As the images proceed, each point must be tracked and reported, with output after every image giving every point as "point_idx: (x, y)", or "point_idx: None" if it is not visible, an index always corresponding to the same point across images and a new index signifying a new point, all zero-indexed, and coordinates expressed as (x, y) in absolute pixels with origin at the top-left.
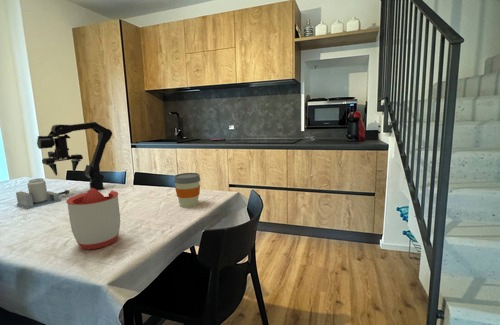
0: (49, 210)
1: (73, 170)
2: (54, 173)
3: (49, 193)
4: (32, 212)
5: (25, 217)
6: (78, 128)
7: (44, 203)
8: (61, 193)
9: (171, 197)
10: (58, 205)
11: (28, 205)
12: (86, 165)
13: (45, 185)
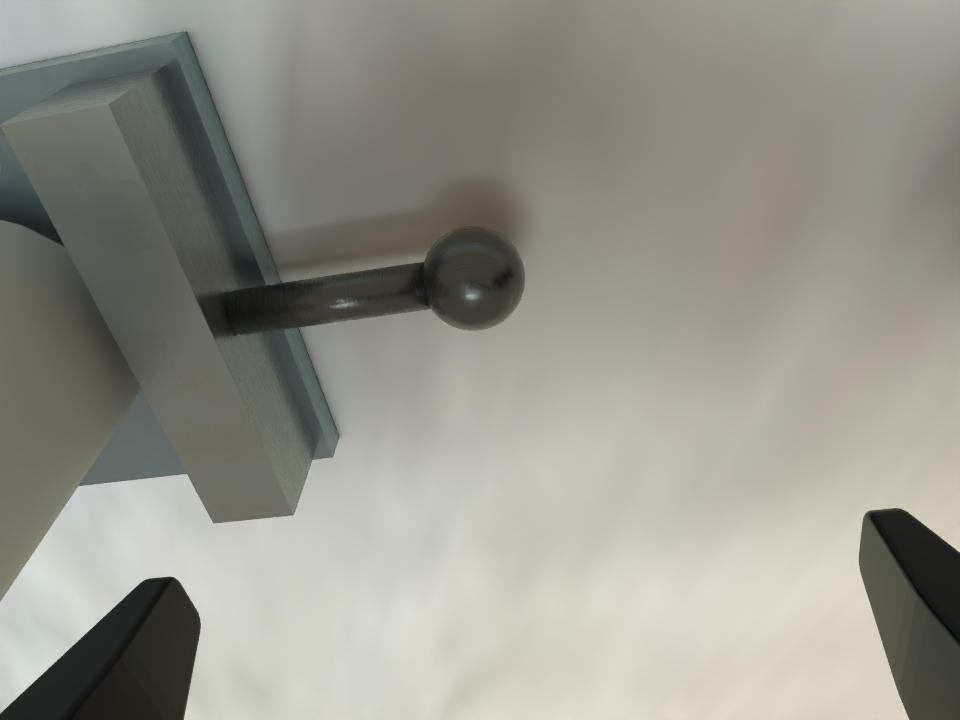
0: (192, 675)
1: (895, 618)
2: (83, 639)
3: (142, 361)
4: (34, 622)
5: (3, 700)
6: None
7: (118, 477)
8: (366, 315)
9: None
10: (284, 594)
11: None
12: None
13: (1, 592)
